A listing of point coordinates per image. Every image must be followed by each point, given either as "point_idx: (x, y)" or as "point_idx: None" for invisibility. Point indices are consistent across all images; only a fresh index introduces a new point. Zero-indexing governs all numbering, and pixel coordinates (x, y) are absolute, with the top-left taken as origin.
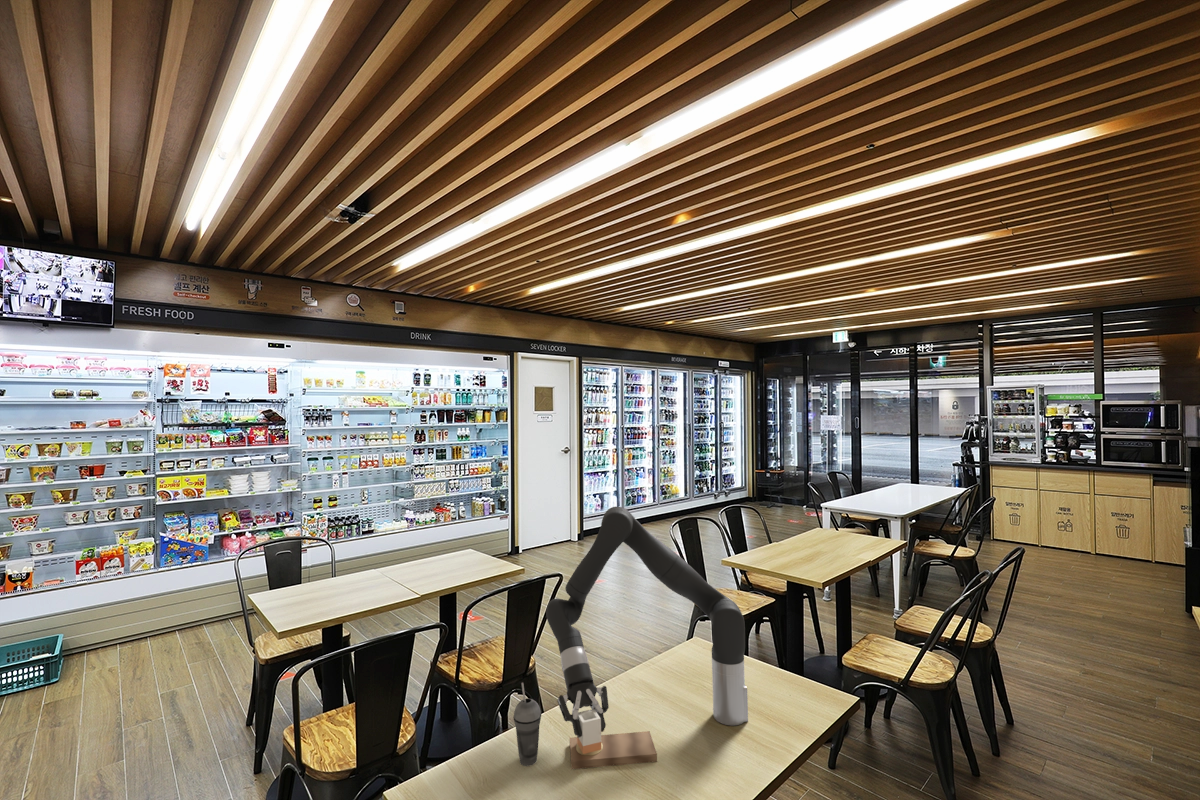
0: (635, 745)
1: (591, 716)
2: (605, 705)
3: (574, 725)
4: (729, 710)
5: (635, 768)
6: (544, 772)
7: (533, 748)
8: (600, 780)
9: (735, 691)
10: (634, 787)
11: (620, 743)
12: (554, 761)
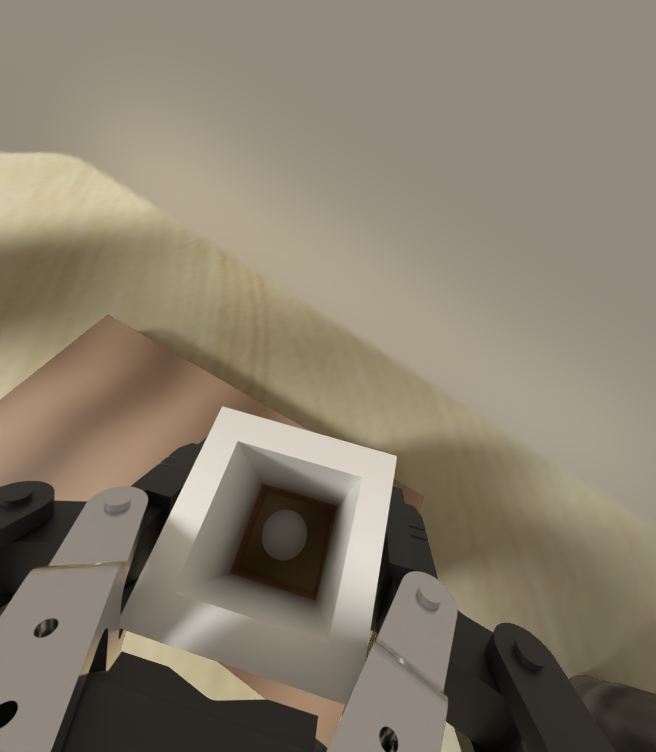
0: (110, 401)
1: (205, 588)
2: (1, 513)
3: (429, 553)
4: None
5: (208, 353)
6: (529, 565)
7: None
8: (346, 380)
9: None
10: (280, 300)
11: (144, 457)
12: None
